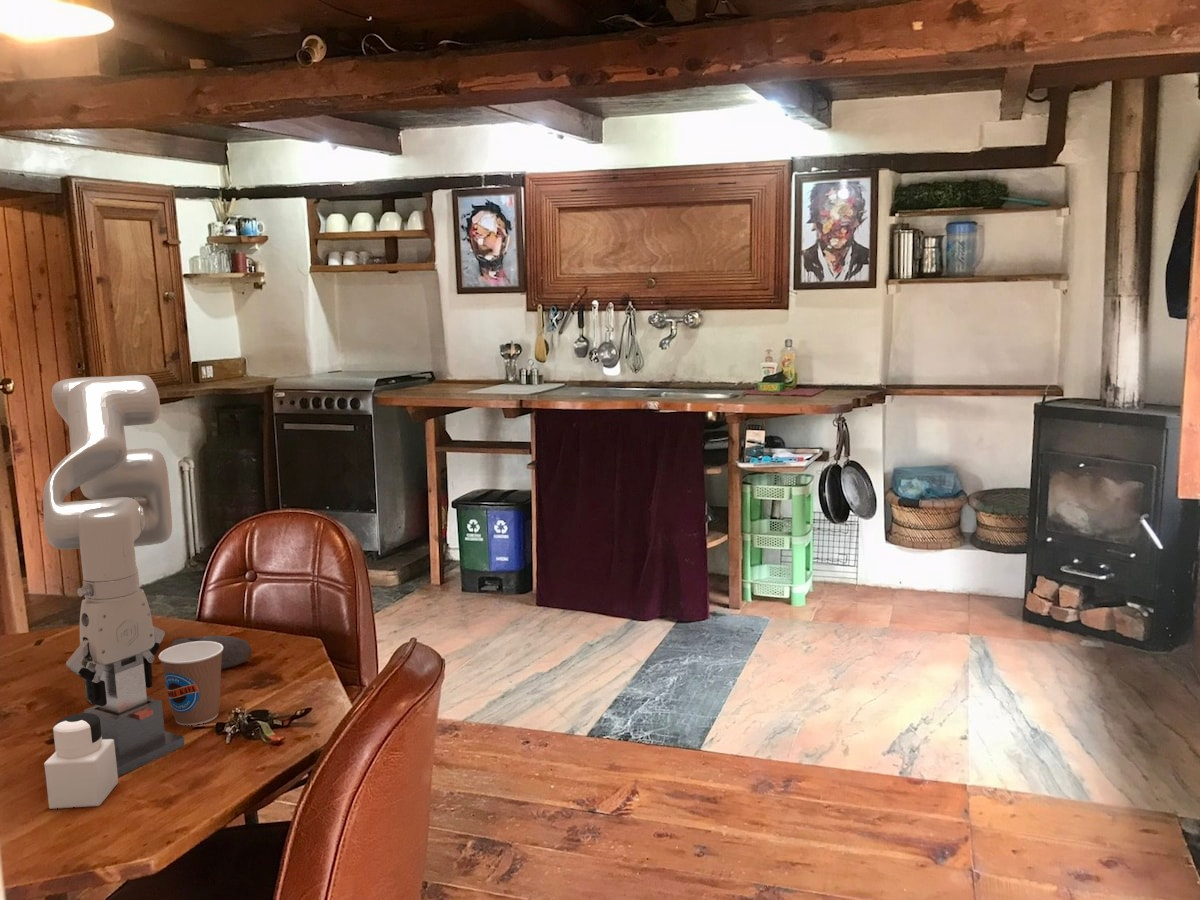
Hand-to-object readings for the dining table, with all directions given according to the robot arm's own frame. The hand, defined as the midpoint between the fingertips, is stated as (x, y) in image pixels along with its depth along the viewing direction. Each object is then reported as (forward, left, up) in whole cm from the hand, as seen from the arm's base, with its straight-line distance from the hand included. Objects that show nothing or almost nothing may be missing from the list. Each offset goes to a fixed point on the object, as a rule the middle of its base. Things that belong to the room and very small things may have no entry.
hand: (122, 694), depth 159 cm
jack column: (0, 0, -8) cm, 8 cm away
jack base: (0, 0, -10) cm, 10 cm away
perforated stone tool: (-18, +31, -10) cm, 37 cm away
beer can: (-24, +12, -10) cm, 29 cm away
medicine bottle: (+7, -12, -10) cm, 17 cm away
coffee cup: (-2, +14, -10) cm, 18 cm away
